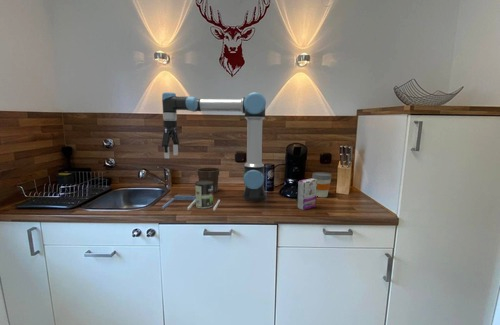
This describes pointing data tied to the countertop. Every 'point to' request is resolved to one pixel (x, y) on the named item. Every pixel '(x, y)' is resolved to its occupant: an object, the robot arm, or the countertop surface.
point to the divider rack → (178, 197)
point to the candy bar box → (307, 193)
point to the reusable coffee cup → (322, 183)
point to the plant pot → (209, 176)
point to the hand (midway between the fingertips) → (171, 156)
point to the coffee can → (204, 194)
